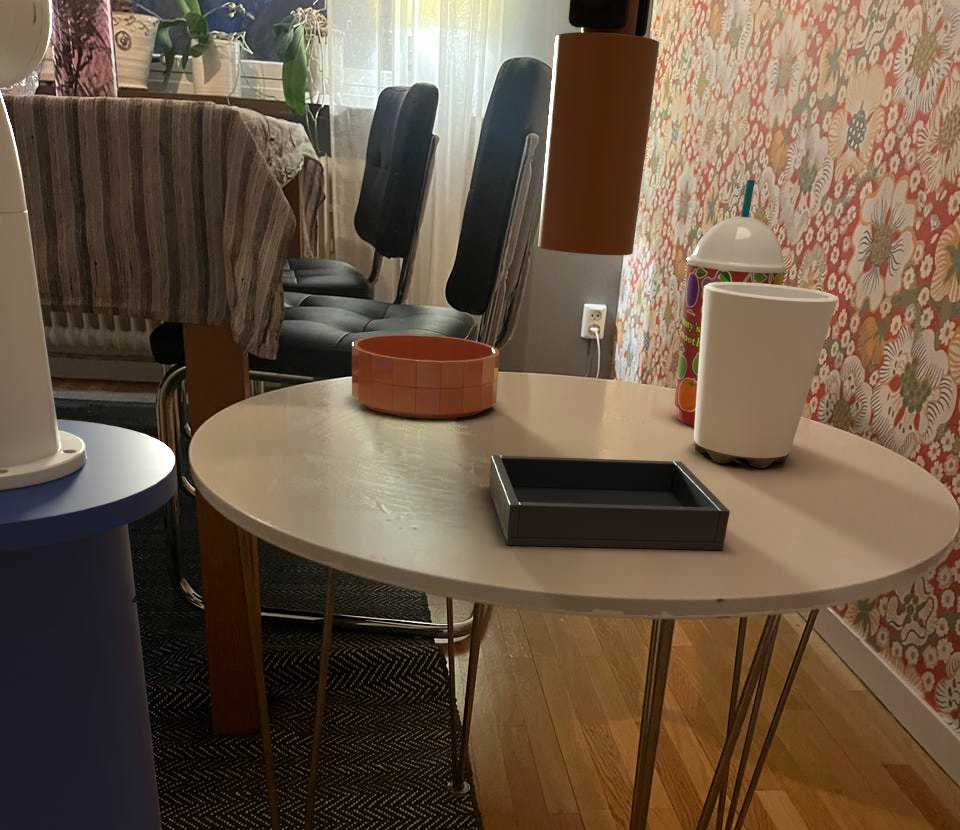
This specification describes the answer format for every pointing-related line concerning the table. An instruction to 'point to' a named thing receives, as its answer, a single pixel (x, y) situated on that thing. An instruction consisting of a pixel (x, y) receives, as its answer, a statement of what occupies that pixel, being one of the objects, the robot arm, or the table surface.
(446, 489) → the table surface
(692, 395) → the smoothie
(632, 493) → the tray
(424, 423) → the table surface
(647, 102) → the bottle
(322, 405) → the table surface
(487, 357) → the bowl
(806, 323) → the cup
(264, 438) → the table surface
